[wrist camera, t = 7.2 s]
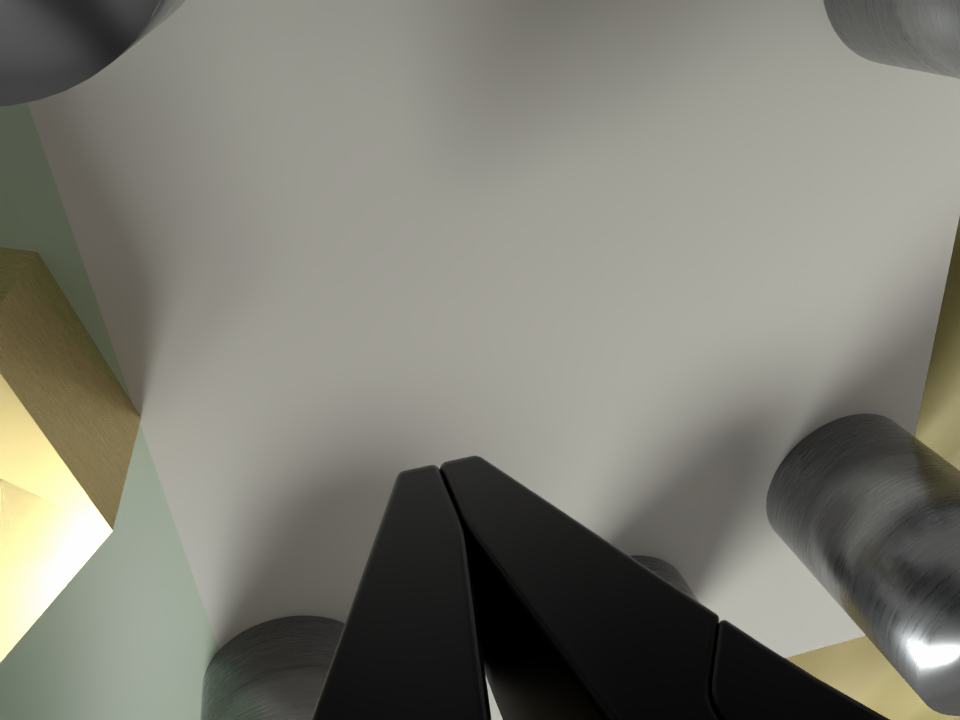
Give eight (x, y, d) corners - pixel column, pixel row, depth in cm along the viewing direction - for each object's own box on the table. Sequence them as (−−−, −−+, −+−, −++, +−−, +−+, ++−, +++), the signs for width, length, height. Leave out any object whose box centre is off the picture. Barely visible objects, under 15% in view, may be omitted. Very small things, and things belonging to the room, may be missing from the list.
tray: (-53, 852, 15) (-68, 896, 14) (-969, -455, 6) (-1118, -502, 6) (851, 606, 18) (874, 632, 17) (1048, -490, 10) (1109, -522, 9)
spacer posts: (232, 775, 15) (225, 1029, 11) (-196, -354, 7) (-624, -635, 4) (881, 599, 17) (1039, 766, 14) (1085, -403, 9) (1567, -606, 6)
